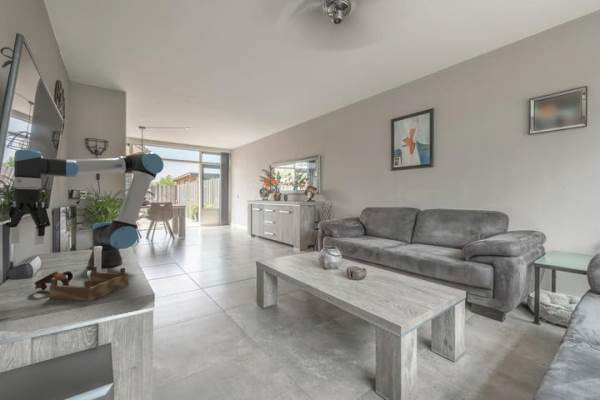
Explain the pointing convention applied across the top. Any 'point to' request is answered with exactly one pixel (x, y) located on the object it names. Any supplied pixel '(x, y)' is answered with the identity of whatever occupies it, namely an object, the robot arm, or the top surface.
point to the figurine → (97, 261)
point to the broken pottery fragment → (57, 276)
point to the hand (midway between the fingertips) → (26, 243)
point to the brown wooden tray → (88, 293)
